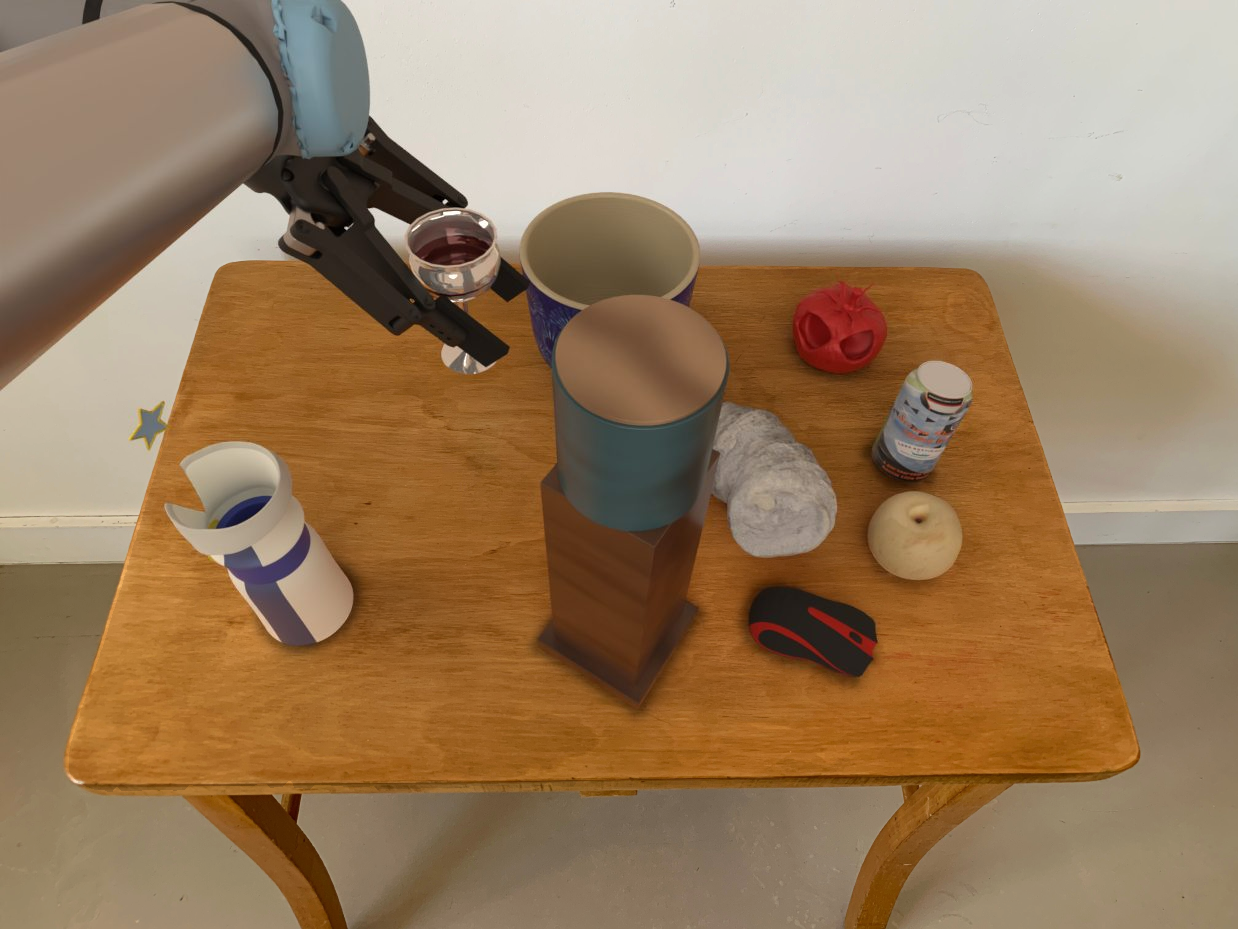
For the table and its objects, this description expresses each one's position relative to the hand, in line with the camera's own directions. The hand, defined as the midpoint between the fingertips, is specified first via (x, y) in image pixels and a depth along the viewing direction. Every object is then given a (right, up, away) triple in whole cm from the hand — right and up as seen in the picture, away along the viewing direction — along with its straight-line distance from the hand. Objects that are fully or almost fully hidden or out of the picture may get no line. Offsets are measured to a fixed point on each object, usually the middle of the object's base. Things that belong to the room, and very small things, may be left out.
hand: (508, 323), depth 63 cm
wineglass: (-4, -2, +4) cm, 5 cm away
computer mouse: (+25, -26, +6) cm, 37 cm away
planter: (+8, 0, +23) cm, 24 cm away
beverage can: (+37, -11, +17) cm, 42 cm away
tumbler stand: (+9, -26, +5) cm, 28 cm away
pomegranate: (+33, +1, +25) cm, 41 cm away
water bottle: (-18, -24, +6) cm, 31 cm away
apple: (+35, -20, +11) cm, 42 cm away
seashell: (+20, -14, +14) cm, 28 cm away
